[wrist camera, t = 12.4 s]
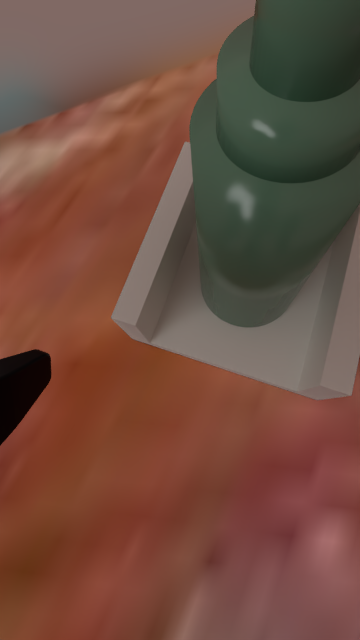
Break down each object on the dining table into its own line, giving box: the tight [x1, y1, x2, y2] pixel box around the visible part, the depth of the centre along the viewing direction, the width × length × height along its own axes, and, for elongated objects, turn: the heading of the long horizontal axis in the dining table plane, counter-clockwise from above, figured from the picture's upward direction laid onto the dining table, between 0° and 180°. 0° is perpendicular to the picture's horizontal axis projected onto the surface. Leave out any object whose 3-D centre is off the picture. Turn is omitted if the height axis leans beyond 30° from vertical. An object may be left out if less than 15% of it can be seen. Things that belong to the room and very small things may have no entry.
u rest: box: [111, 142, 360, 400], centre depth 16 cm, size 10×10×4 cm
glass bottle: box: [190, 0, 360, 328], centre depth 11 cm, size 5×5×14 cm
